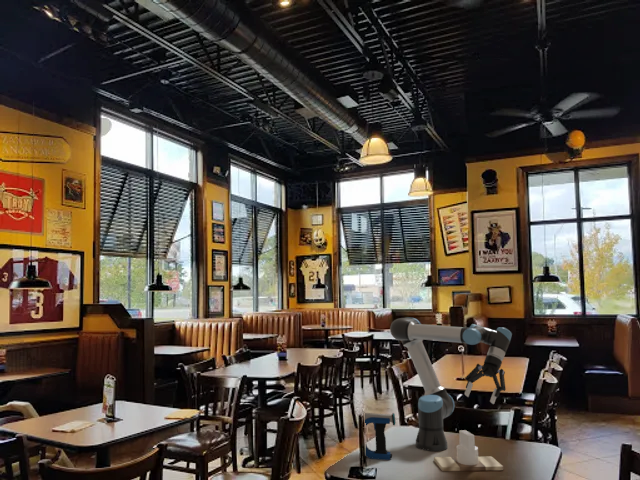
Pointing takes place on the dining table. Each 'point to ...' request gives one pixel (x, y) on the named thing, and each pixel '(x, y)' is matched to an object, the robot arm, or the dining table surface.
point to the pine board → (453, 465)
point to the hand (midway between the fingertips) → (478, 399)
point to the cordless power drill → (379, 434)
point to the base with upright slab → (467, 449)
